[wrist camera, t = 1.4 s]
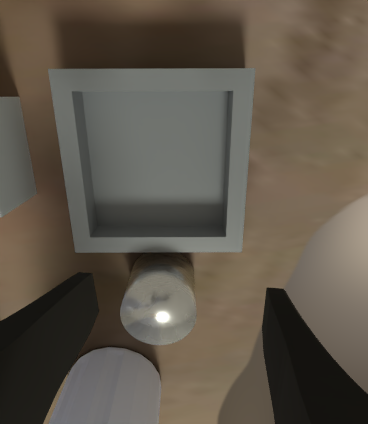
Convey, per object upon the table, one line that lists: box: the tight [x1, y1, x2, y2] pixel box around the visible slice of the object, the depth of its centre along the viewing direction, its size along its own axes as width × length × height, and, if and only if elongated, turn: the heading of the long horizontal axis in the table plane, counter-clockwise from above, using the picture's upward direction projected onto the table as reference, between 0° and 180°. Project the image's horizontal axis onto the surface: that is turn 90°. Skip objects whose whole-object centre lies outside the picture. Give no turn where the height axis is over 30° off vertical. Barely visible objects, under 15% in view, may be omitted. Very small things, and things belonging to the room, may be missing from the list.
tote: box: [48, 68, 255, 253], centre depth 21 cm, size 12×12×3 cm
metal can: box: [120, 252, 196, 345], centre depth 24 cm, size 5×5×5 cm
